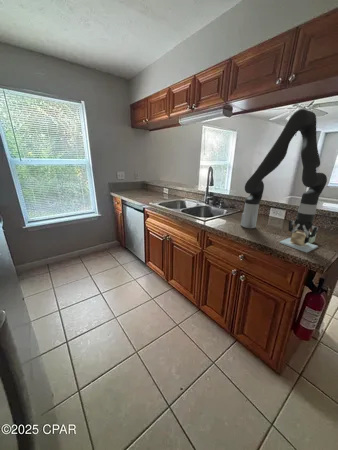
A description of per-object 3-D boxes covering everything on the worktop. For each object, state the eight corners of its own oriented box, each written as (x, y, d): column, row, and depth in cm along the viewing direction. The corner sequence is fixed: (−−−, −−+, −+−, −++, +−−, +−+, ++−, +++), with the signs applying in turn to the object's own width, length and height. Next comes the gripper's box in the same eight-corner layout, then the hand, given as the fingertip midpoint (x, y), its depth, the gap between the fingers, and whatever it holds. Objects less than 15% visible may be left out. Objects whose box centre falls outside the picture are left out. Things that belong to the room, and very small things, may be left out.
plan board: (279, 242, 106) (279, 241, 106) (290, 238, 112) (290, 237, 112) (306, 252, 95) (307, 250, 95) (317, 247, 101) (317, 245, 101)
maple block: (290, 241, 104) (292, 233, 103) (295, 239, 107) (297, 231, 106) (301, 245, 99) (304, 236, 98) (307, 243, 102) (309, 234, 101)
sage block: (300, 240, 110) (302, 232, 108) (304, 239, 113) (306, 231, 111) (310, 243, 106) (312, 235, 104) (314, 241, 109) (316, 234, 107)
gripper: (288, 209, 102) (282, 238, 107) (319, 216, 90) (310, 247, 95) (295, 208, 105) (289, 235, 111) (325, 214, 94) (317, 244, 99)
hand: (298, 241), depth 103 cm, fingers closed on maple block, 5 cm apart
